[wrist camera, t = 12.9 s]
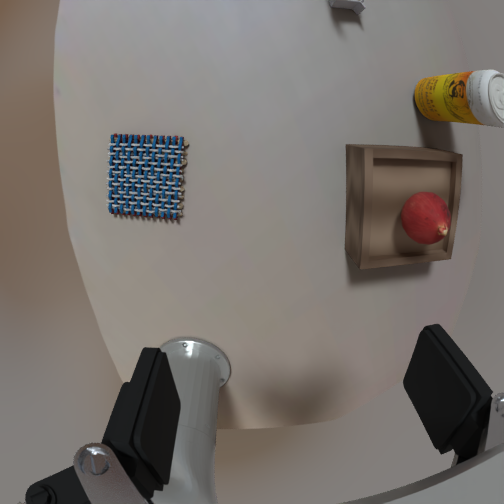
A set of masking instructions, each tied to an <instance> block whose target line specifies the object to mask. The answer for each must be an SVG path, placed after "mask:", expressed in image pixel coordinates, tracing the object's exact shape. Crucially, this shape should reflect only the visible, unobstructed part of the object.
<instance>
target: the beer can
mask: <svg viewBox="0 0 504 504" xmlns="http://www.w3.org/2000/svg"><path fill="white" fill-rule="evenodd" d="M415 101H416V104H417V107H418V109H419V110H420V112H421V113H422V114H423V115H424V116H425V117H426V118H428V119H430V120H433V121H448V122H460V123H470V124H479V125H487V126H494V127H501V128H502V127H504V74H502V73H499V72H497V71H495V70H481V71H471V72H463V73H455V74H448V75H441V76H434V77H428V78H424V79H422V80H420V81H419V82H418V84H417V85H416V88H415Z"/></svg>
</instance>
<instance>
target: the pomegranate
mask: <svg viewBox="0 0 504 504" xmlns="http://www.w3.org/2000/svg"><path fill="white" fill-rule="evenodd" d="M401 220H402V227H403V229H404V230H405V232H406V234H407V235H408V236H409V237H410V238H411V239H413V240H414V241H416V242H417V243H419V244H428V245H430V244H434V243H437V242H439V241H441V240H442V239H443V238H444V237H445V236H446V234H447V233H448V231H449V229H450V225H451V214H450V211H449V209H448V207H447V204H446V203H445V201H444V200H443V199H442V198H440V197H439V196H438V195H436V194H435V193H433V192H419V193H416V194H413V195H412V196H411V197H410V198H409V199H408V200H406V202H405V204H404V206H403V207H402V212H401Z"/></svg>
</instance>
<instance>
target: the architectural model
mask: <svg viewBox="0 0 504 504" xmlns="http://www.w3.org/2000/svg"><path fill="white" fill-rule="evenodd" d="M329 2H330V7H335V8H346V9H353V10H354V11H355V13H356V14H357V15H358V14H359V13H360V12H362V11H363V10H364V9H365V8H366V7H365V6H364V4H363V3H362V2H364V0H362V1H360V0H329Z"/></svg>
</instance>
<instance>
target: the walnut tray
mask: <svg viewBox="0 0 504 504" xmlns="http://www.w3.org/2000/svg"><path fill="white" fill-rule="evenodd" d="M462 156H463V155H462V154H458V153H454V152H449V151H445V150H440V149H434V148H422V147H408V146H390V145H356V144H346V233H345V250H346V251H347V253H348V254H349V255H350V257H351V258H352V259H353V261H354V262H355V263H356V265H357V266H358V267H359V269H370V268H379V267H388V266H397V265H406V264H415V263H423V262H431V261H440V260H448V259H451V255H452V250H453V244H454V238H455V232H456V225H457V218H458V210H459V200H460V190H461V177H462ZM419 192H433V193H435V194H436V195H438V196H439V197H440V198H442V199H443V200H444V201H445V203H446V204H447V207H448V209H449V211H450V214H451V225H450V229H449V231H448V233H447V234H446V236H445V237H444V238H443V239H442V240H441V241H439V242H437V243H434V244H430V245H428V244H419V243H417V242H416V241H414V240H413V239H411V238H410V237H409V236H408V235H407V234H406V232H405V230H404V229H403V227H402V220H401V212H402V207H403V206H404V204H405V202H406V200H408V199H409V198H410V197H411V196H412V195H413V194H416V193H419Z"/></svg>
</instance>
